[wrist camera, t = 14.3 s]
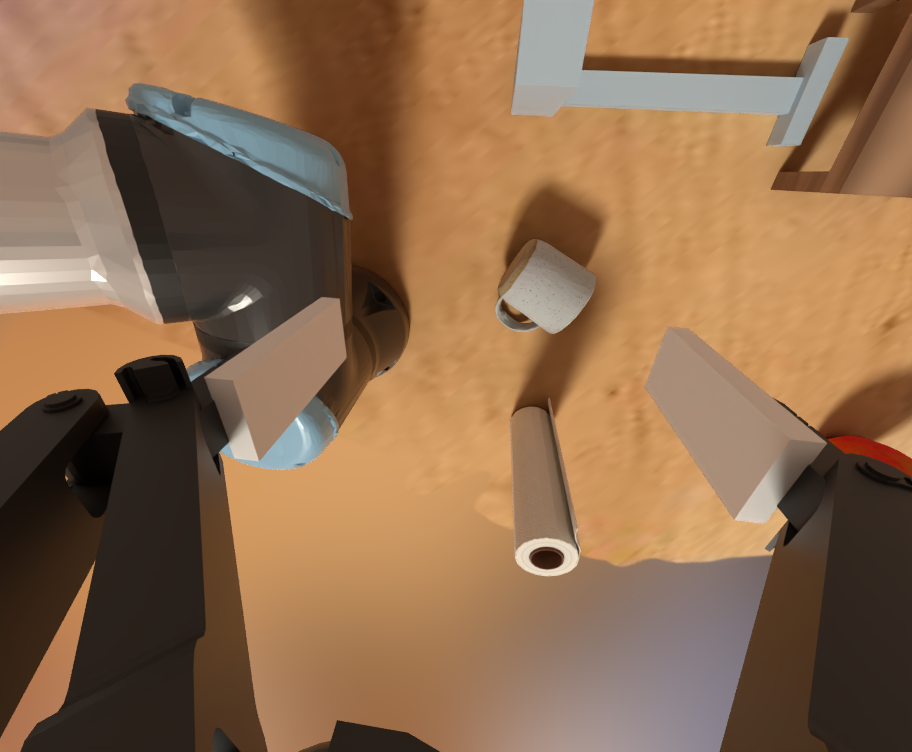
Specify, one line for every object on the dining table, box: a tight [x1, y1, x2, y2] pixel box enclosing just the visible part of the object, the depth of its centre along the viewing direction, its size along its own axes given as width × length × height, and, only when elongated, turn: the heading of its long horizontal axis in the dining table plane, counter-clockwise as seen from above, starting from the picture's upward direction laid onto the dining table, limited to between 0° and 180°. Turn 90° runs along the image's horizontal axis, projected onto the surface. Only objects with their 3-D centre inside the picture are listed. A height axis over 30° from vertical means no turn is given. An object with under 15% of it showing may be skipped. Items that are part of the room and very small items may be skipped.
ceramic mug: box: [495, 239, 596, 334], centre depth 38 cm, size 11×8×8 cm
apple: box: [828, 435, 912, 478], centre depth 43 cm, size 9×9×12 cm
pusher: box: [511, 0, 849, 147], centre depth 26 cm, size 26×7×13 cm, turn 87°
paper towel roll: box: [510, 397, 581, 576], centre depth 42 cm, size 7×6×21 cm
